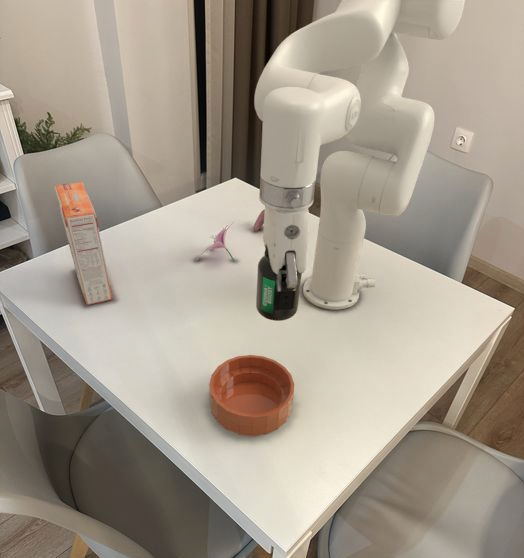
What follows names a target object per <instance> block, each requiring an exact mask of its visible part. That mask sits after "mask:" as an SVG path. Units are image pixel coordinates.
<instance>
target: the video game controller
mask: <svg viewBox="0 0 524 558" xmlns="http://www.w3.org/2000/svg"><path fill="white" fill-rule="evenodd" d="M264 212H265V208H264V209H263V210H261V211H260V213H259V215H258V216H257V218H256V220H255V222H254V224H253V230H254V231H255V232H257V231H258V230H260V229H261V228H262V227H263V226H264Z"/></svg>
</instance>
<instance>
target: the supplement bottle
mask: <svg viewBox="0 0 524 558" xmlns="http://www.w3.org/2000/svg"><path fill="white" fill-rule="evenodd" d="M281 269H286V266H285V265H283V266H282V268H281ZM296 273H297V286H296V292H295V301H294V308H293V309H290V310H277V311H275V310H274V309H273V298H274V288H276V287H277V285H276V273H275V272H273V270H272V267H271V264H270V259H269V253H268V248H267V245H266V248H265V247H264V255H263V256H262V257H261V258H260V259H259V261H258V264H257V274H256V275H257V277H256V278H257V279H256V297H255V299H256V300H255V301H256V302H255V304H256V305H255V306H256V311H257V312H258V314H260V315H261V316H262V317H263V318H265V319H267V320H268V321H269V320H270V321H275V322H282V321H287V320H289V319H291V318H293V317H294V316H295V315H296V314H297V312H298V308H299V301H300V293H301V286H302V285H301V284H302V275H303V273H299V272H298V269H297V266H296ZM286 278H287V275H286V274H282V275H281V283H282V282H283V281H286Z"/></svg>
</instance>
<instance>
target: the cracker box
mask: <svg viewBox="0 0 524 558" xmlns="http://www.w3.org/2000/svg"><path fill="white" fill-rule="evenodd" d="M54 190H55V195H56V198H57V202H58V207H59V211H60V215H61V219H62V224H63V226H64V231H65V234H66V239H67V243H68V246H69V251H70V255H71V258H72V262H73V266H74V270H75V273H76V276H77V279H78V283H79V286H80V290H81V293H82V296H83V298H84V302H85V304H86V306H89V305H90V306H91V305H95V304H99V303H104V302H108V301H112V300H114V299H113V294H112V293H113V292H112V289H111V284H110V283H111V282H110V279H109V274H108V270H107V269H108V268H107V264H106V259H105V254H104V249H103V245H102V238H101V233H100V229H99V224H98V217H97V214H96V211H95V208H94V206H93V203H92V201H91V199H90V197H89V194H88V191H87V189H86V188H85V185H84V182H83V181H79V182H72V183H63V184H57V185H54Z"/></svg>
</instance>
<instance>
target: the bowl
mask: <svg viewBox="0 0 524 558" xmlns="http://www.w3.org/2000/svg"><path fill="white" fill-rule="evenodd" d="M208 386H209V387H208V388H209V389H208V390H209V406H210V412H211V414H212V417H213V418H214V420H215V421H216V422H217V423H218V424H219V425H220V426H221V427H223V428H224V429H225V430H227V431H229V432H232V433H234V434H237V435H238V436H239V435H240V436H241V435H242V436H249V437H257V436H263V435H268V434H270V433H272V432H276V431H277V430H279V429H280V428H281V427H282V426H283V425H284V424H286V423H287V421H288V419H289V417H290V416H291V414H292V410H293V402H294V401H293V400H294V393H295V382H294V379H293V376H292V374H291V373H290V371H289V370H288V369H287V368H286V367H285V366H284V365H283V364H281V363H279V362H278V361H277V360H275V359H273V358H270V357H267V356H264V355H255V354H247V355H238V356H235V357H231V358H229V359H227V360H225V361H223V362H222V363H221V364H220V365H218V366H217V367H216V368H215V370H214V371H213V372H212V374H211V376H210V379H209V383H208Z"/></svg>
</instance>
